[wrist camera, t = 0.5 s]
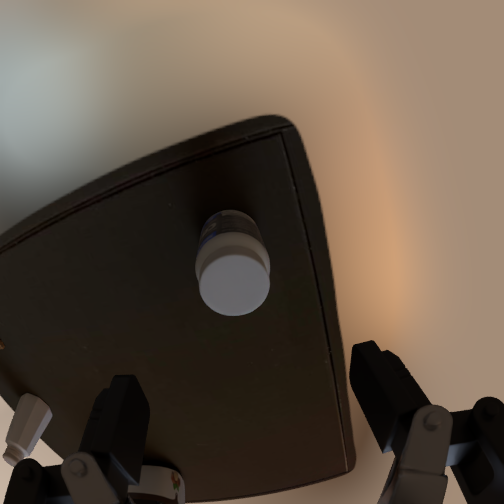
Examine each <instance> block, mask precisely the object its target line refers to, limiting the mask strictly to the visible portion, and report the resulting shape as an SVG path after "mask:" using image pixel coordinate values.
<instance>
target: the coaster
mask: <svg viewBox="0 0 504 504" xmlns="http://www.w3.org/2000/svg"><path fill="white" fill-rule="evenodd" d="M4 347H5V346H4V344H3V342H2V341H1V339H0V349H3V348H4Z"/></svg>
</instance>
